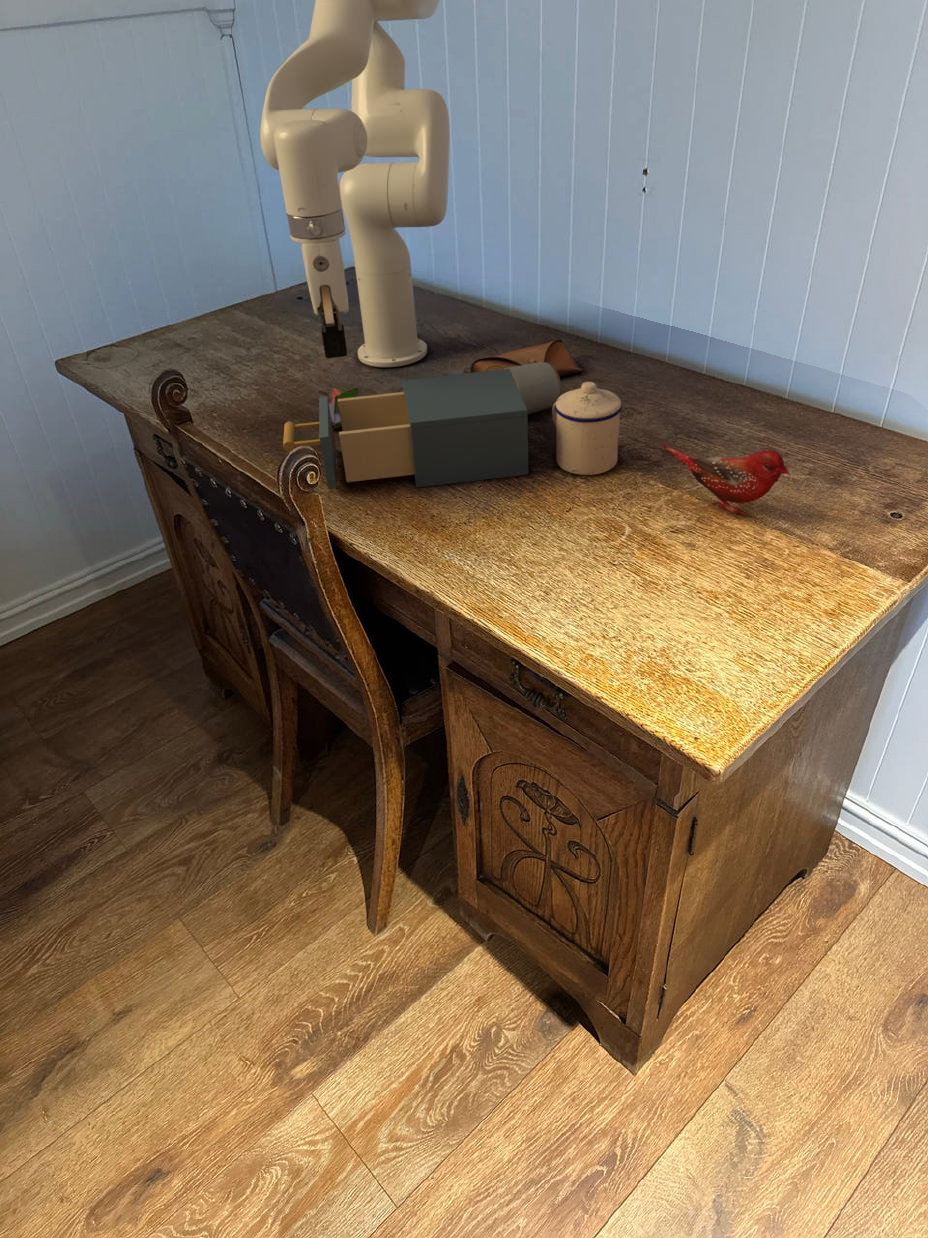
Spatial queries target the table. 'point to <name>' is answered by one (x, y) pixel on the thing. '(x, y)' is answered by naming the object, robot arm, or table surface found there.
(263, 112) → the robot arm
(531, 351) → the sunglasses case
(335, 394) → the geometric puzzle
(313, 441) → the drawer
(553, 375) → the ceramic mug
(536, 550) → the table surface
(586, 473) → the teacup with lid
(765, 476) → the decorative bird figurine
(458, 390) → the cabinet
